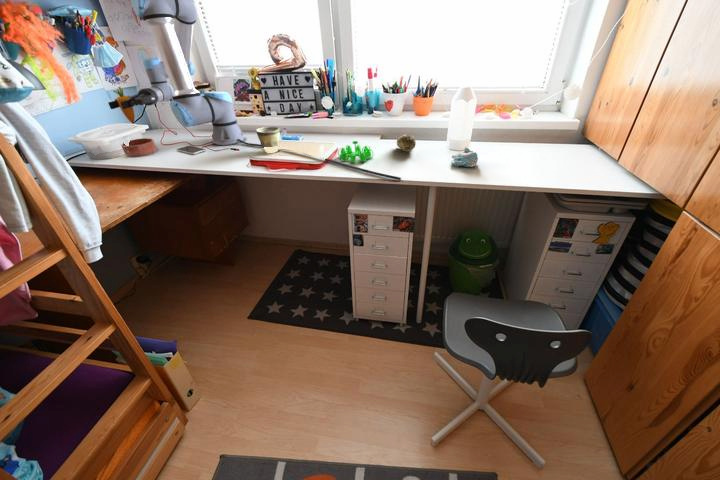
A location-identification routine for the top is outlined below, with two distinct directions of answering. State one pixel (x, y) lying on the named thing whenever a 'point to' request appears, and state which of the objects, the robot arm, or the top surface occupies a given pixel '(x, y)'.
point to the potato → (406, 142)
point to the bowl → (139, 147)
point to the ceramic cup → (268, 136)
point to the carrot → (128, 111)
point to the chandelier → (355, 153)
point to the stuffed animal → (465, 158)
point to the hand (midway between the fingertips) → (116, 105)
